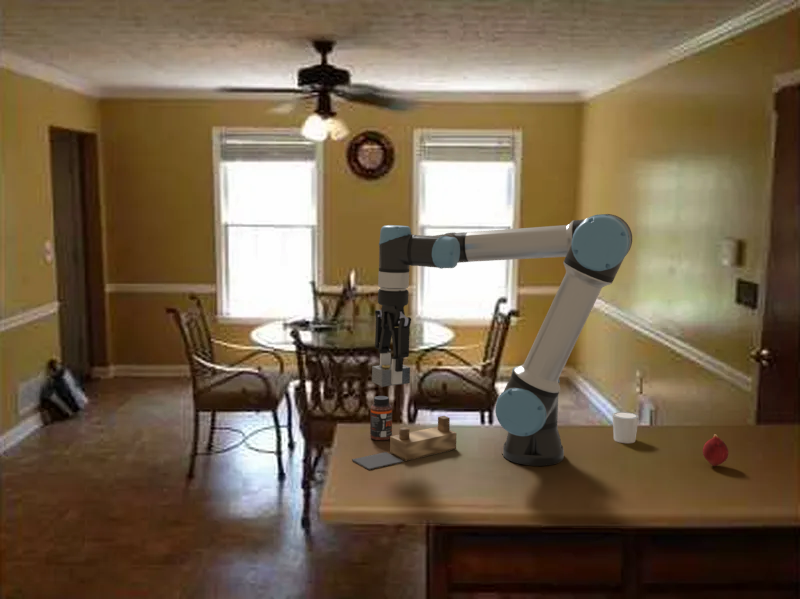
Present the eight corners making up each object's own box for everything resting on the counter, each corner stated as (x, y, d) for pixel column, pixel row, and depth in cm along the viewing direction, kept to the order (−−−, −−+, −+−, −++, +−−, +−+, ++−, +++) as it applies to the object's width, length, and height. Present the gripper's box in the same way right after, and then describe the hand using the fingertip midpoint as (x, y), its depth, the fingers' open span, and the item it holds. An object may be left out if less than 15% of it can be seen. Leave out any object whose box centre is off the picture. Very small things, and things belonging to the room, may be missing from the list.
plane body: (440, 442, 207) (440, 413, 206) (456, 449, 201) (456, 419, 200) (390, 453, 198) (390, 423, 197) (405, 461, 192) (405, 429, 191)
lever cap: (409, 383, 193) (410, 365, 192) (381, 386, 189) (382, 368, 188) (399, 378, 197) (399, 361, 196) (371, 381, 193) (372, 364, 192)
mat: (403, 462, 191) (403, 460, 191) (369, 470, 186) (369, 468, 186) (385, 453, 198) (385, 451, 198) (352, 460, 192) (352, 459, 192)
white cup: (640, 444, 206) (642, 418, 205) (615, 443, 206) (616, 418, 205) (633, 436, 213) (634, 411, 212) (608, 436, 213) (609, 411, 212)
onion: (731, 466, 189) (733, 434, 188) (722, 472, 185) (724, 439, 184) (707, 460, 193) (709, 429, 192) (698, 466, 189) (699, 434, 188)
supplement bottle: (389, 442, 207) (389, 401, 206) (368, 440, 208) (367, 399, 207) (394, 435, 213) (394, 395, 212) (373, 433, 214) (373, 394, 213)
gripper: (426, 292, 184) (422, 388, 187) (388, 283, 199) (385, 371, 202) (399, 294, 180) (396, 391, 183) (362, 284, 195) (360, 374, 198)
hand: (390, 380), depth 193 cm, fingers closed on lever cap, 5 cm apart
